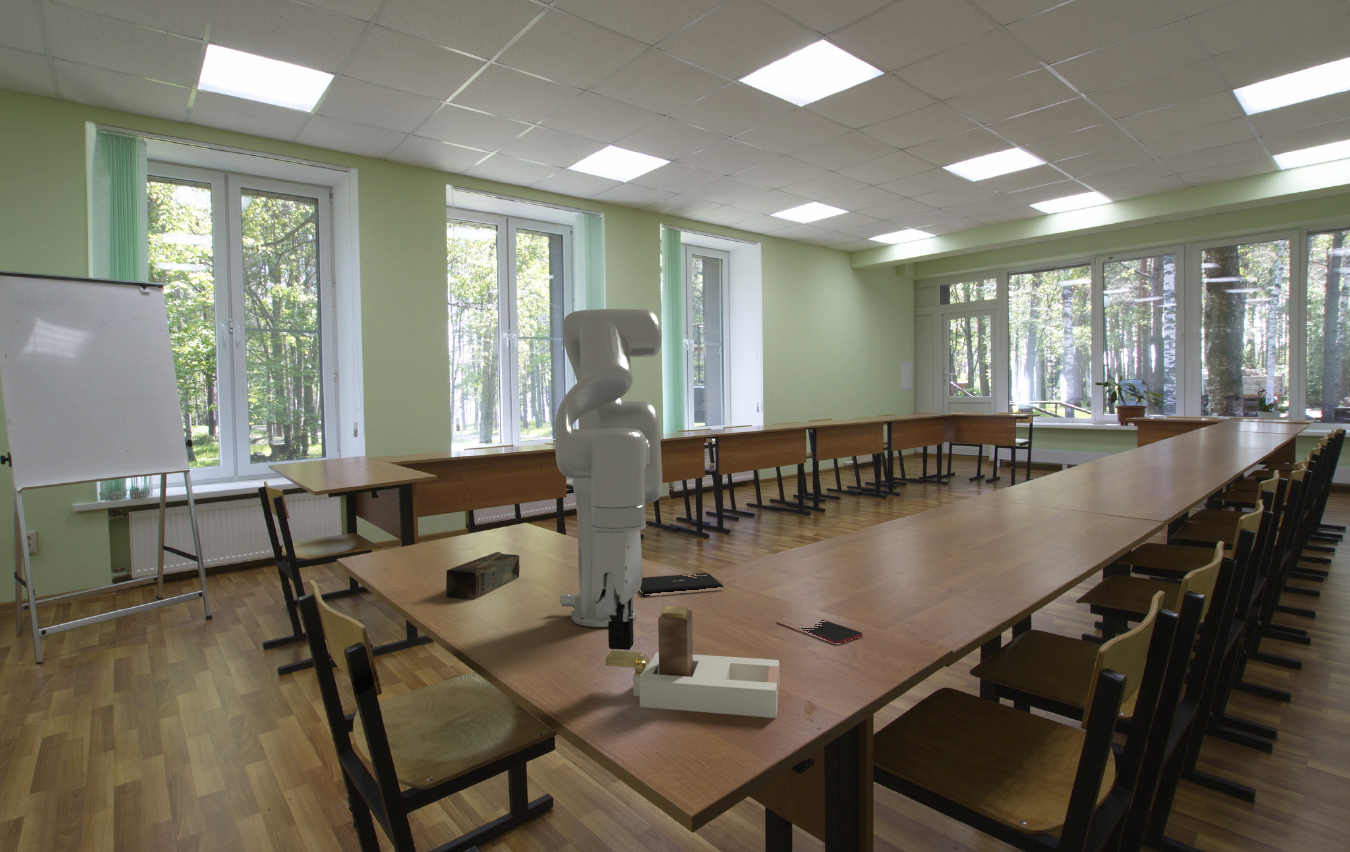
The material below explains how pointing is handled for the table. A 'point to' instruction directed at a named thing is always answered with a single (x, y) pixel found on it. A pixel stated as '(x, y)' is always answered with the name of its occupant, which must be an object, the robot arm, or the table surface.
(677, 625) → the plug
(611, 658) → the latch tab
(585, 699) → the table surface
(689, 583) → the laptop
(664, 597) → the table surface
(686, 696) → the white socket holder
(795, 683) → the table surface
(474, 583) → the beverage carton
